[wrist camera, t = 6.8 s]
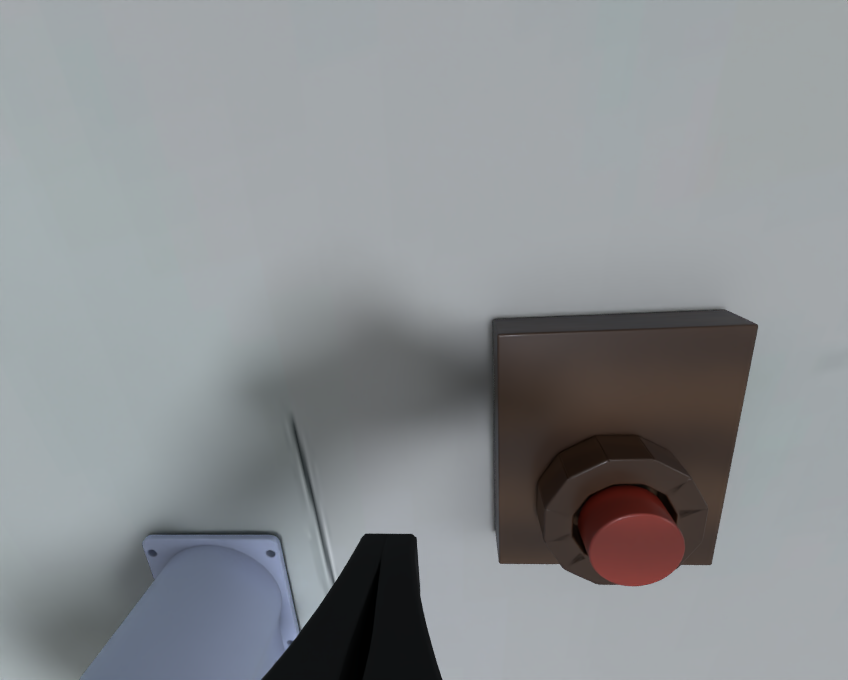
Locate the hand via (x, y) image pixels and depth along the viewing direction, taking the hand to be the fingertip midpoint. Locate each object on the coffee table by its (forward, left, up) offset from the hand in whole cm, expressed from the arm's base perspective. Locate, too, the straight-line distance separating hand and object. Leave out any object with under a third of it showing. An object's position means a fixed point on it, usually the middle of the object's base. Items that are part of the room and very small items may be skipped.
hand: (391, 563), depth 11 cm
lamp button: (-5, -8, -7) cm, 12 cm away
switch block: (-3, -9, -10) cm, 14 cm away
